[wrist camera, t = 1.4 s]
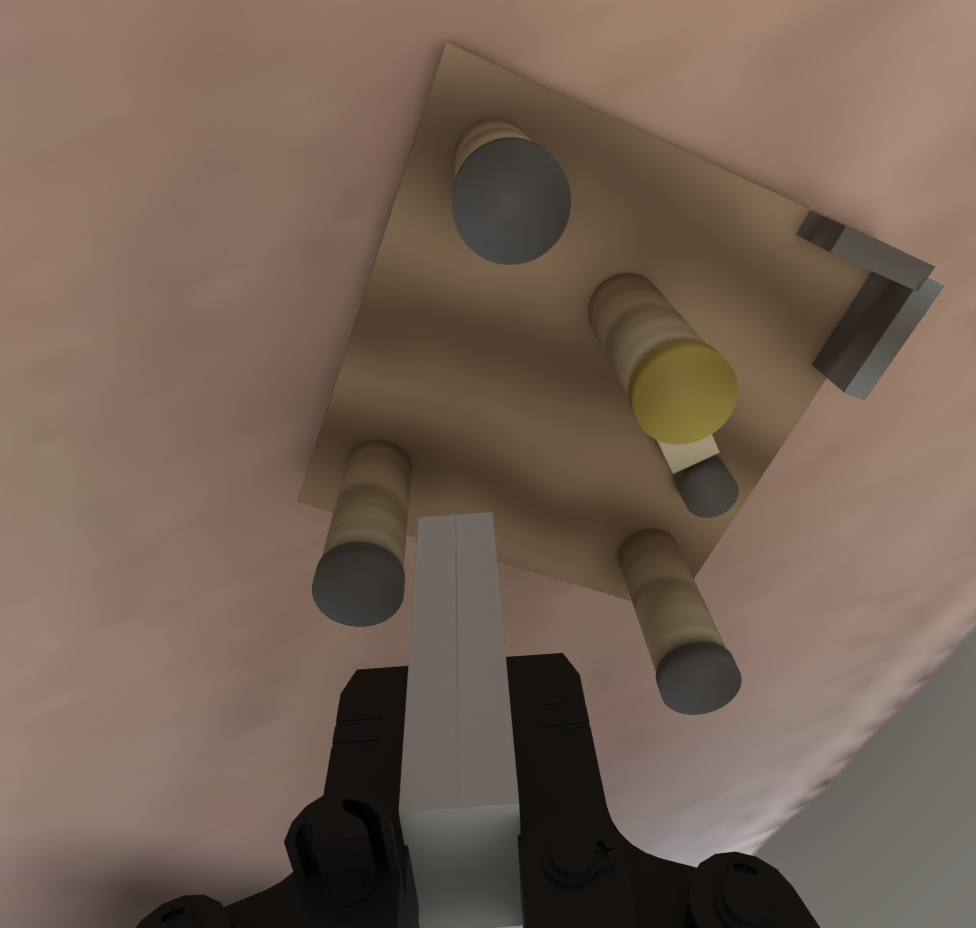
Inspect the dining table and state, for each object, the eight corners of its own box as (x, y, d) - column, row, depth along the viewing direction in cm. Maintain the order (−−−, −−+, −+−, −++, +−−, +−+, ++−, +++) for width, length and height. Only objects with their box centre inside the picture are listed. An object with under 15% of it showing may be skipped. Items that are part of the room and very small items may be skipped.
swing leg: (740, 479, 34) (824, 602, 27) (676, 508, 35) (741, 636, 27) (646, 256, 29) (717, 329, 21) (573, 295, 30) (617, 379, 22)
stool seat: (659, 582, 41) (726, 751, 31) (306, 474, 36) (253, 631, 26) (877, 240, 32) (1069, 323, 22) (446, 42, 27) (445, 36, 18)
